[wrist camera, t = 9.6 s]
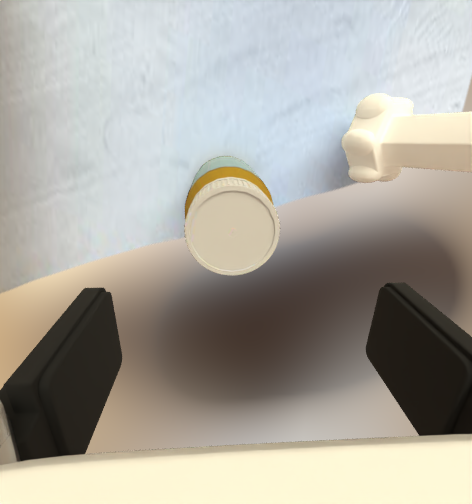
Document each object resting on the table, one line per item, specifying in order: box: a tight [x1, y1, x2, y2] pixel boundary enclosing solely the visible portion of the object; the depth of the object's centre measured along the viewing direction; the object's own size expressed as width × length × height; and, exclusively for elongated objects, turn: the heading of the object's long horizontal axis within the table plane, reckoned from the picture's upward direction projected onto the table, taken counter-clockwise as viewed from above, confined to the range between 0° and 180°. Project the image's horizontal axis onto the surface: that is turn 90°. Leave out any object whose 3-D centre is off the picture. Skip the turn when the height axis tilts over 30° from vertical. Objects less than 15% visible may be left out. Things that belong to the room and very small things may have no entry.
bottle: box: [184, 156, 280, 275], centre depth 25 cm, size 7×7×15 cm
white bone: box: [341, 94, 472, 183], centre depth 24 cm, size 15×9×8 cm
